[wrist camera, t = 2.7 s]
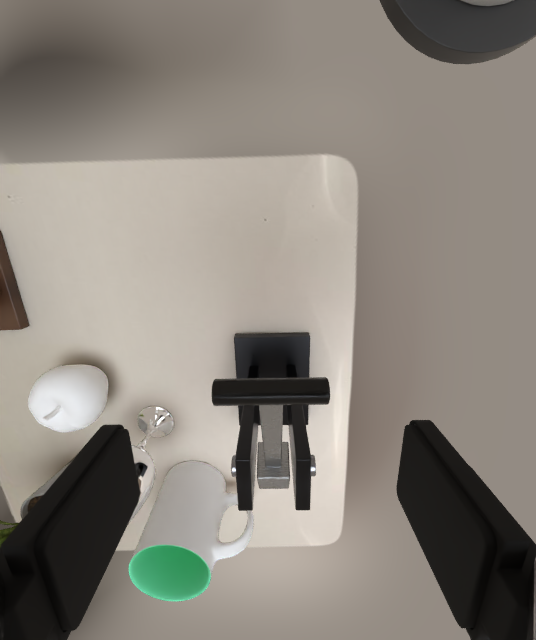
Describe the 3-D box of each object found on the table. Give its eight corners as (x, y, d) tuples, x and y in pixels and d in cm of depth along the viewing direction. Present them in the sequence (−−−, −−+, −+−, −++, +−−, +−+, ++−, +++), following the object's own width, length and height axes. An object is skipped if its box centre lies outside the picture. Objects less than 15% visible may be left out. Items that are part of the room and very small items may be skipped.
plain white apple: (134, 385, 35) (95, 431, 27) (91, 415, 36) (43, 467, 28) (89, 340, 33) (35, 375, 25) (47, 373, 34) (-17, 416, 27)
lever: (215, 362, 14) (208, 411, 12) (325, 361, 14) (333, 409, 12) (240, 455, 24) (238, 489, 22) (306, 454, 24) (309, 488, 22)
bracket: (235, 333, 33) (207, 417, 18) (308, 332, 32) (337, 416, 18) (240, 419, 36) (220, 545, 22) (306, 418, 36) (329, 544, 22)
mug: (249, 453, 37) (242, 536, 28) (260, 502, 40) (256, 593, 30) (157, 464, 38) (117, 549, 28) (173, 511, 41) (141, 604, 31)
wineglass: (139, 394, 35) (75, 476, 24) (185, 411, 36) (145, 499, 24) (126, 431, 37) (61, 525, 25) (171, 447, 37) (126, 546, 26)
